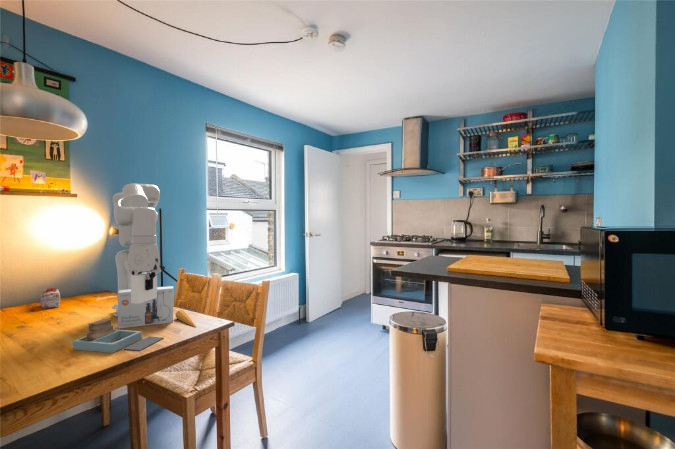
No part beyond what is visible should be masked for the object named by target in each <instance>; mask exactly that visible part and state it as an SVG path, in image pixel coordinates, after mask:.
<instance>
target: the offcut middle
mask: <svg viewBox="0 0 675 449" xmlns="http://www.w3.org/2000/svg"><path fill="white" fill-rule="evenodd" d="M113 329H114V324H111V326H109V327H107V328H104V329H101V330H98V331H90V330H89V329H88V330H86V336H87V339H90V340H95V339H98V338H100V337H103V336H105V335H108V334H110V333H113V332H114V330H113Z"/></svg>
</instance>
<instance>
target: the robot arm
mask: <svg viewBox="0 0 675 449" xmlns="http://www.w3.org/2000/svg"><path fill="white" fill-rule="evenodd" d="M160 200H161V192H160V189H159V187H158V186H157V185H155V184H152V183H151V184H149V183H135V182H133V183H128V184H125V185H124V186H123V187H122V189H121V192H117V193H114V195H113V196H112V204H113V217H114V222H115V223H116V225H118V241H119V244H120V246H122V247H125V248H129V249H123V250H120V251H117V253H116V254H115V258H114V259H115V266H116V273H117V274H116V275H117V293H118V292H119V290H127V289H131V276H132V275H136V274H141V273H145V272H146V277H147V279H146V280H145V290H150V289H153V278H155V276H156V275H157V276H158V274H160V273H161V272H162V269H161V266H160V264H161V262H160V251H159V247H158V237H157V236H158V234H157V222H158V221H159V220H158V219H159V214H158V212H157V211H156V208H157V206H158V204H159V202H160ZM150 272H151V274H150ZM111 309H112V310H115V311H114V313H113V316H114V317H117V318H118V303H115V304H114V305H113V306H112V307H111Z"/></svg>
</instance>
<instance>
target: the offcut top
mask: <svg viewBox="0 0 675 449" xmlns="http://www.w3.org/2000/svg"><path fill="white" fill-rule="evenodd" d="M111 325H112V319H110V318H101V319H99V320H96V321H92V322H89V323H88V330H90V331H98V330H101V329H104V328H107V327H109V326H111Z"/></svg>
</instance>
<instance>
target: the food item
mask: <svg viewBox="0 0 675 449" xmlns="http://www.w3.org/2000/svg"><path fill="white" fill-rule="evenodd" d="M39 300H40V306H41V308H42V309H43V310H44V309H45V310H49V308H50V309H57V308H59V307H60V304H61V293H60V290H59V289H58V288H56V287H49V288H47V289H46V288H43V291H42V294H40V299H39Z"/></svg>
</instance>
